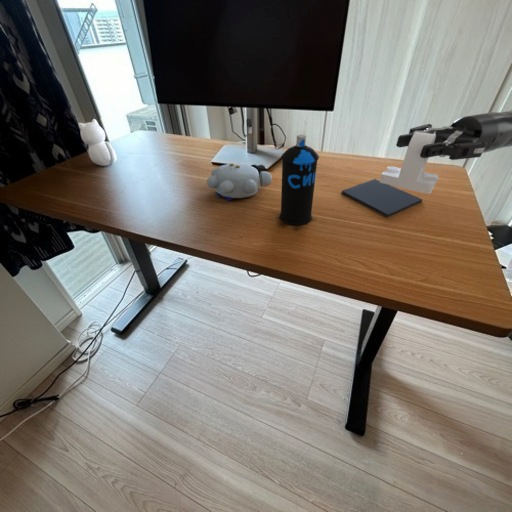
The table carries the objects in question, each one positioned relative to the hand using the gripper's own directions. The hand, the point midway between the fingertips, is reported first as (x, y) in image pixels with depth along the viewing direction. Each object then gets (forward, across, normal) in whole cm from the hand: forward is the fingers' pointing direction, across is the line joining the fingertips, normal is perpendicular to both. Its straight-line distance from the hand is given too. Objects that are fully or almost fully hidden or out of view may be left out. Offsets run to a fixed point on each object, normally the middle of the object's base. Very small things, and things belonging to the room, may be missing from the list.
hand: (410, 146), depth 51 cm
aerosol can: (+17, -13, +20) cm, 29 cm away
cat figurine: (+68, -74, +19) cm, 102 cm away
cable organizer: (-2, 0, +8) cm, 9 cm away
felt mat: (-10, -14, +20) cm, 26 cm away
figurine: (+26, -33, +19) cm, 46 cm away
